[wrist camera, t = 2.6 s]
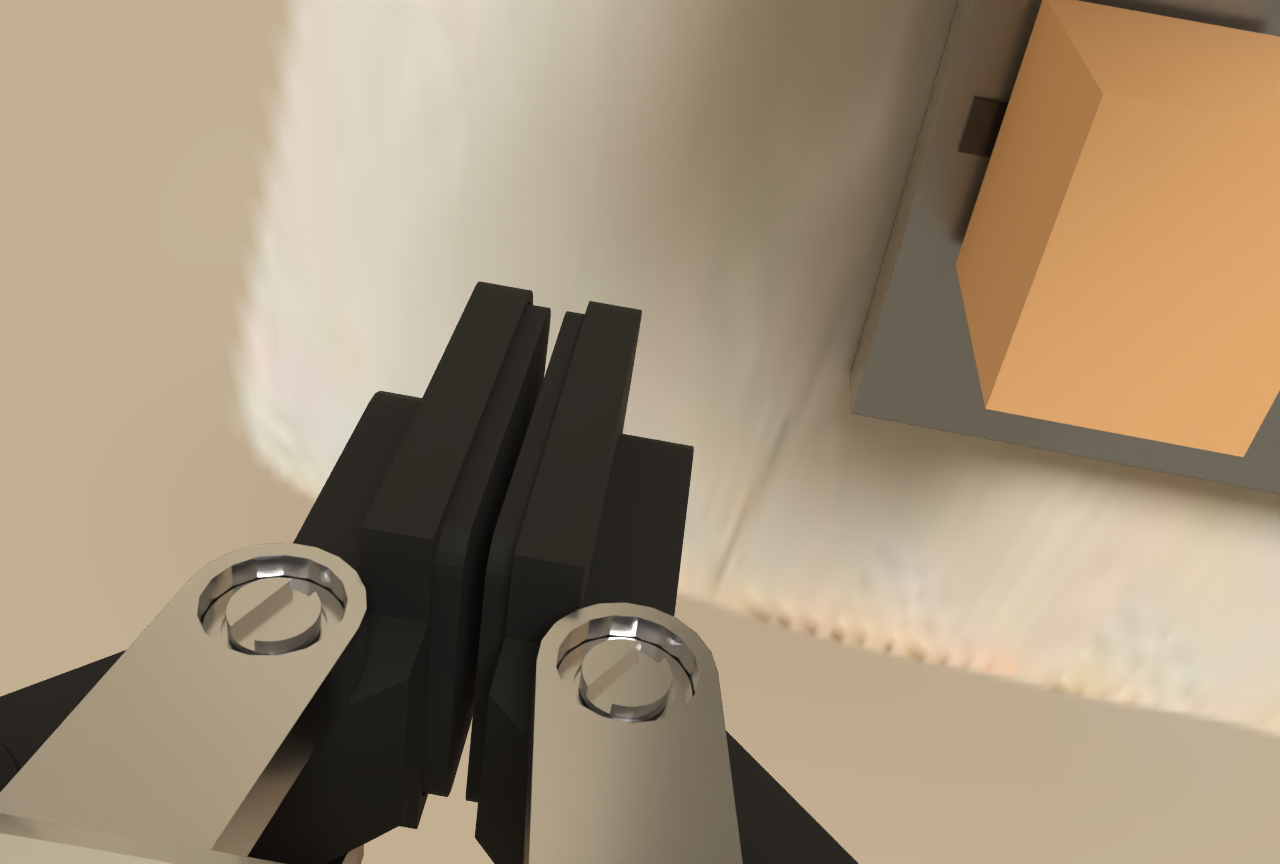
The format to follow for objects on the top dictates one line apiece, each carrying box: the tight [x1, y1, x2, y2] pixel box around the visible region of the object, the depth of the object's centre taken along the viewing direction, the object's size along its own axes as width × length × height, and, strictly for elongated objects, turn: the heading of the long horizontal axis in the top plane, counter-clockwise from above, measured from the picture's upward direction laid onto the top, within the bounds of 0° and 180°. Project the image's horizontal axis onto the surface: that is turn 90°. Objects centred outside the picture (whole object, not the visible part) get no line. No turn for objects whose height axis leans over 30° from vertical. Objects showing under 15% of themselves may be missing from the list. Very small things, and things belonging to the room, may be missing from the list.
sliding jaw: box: [956, 0, 1280, 457], centre depth 20 cm, size 4×8×5 cm, turn 172°
